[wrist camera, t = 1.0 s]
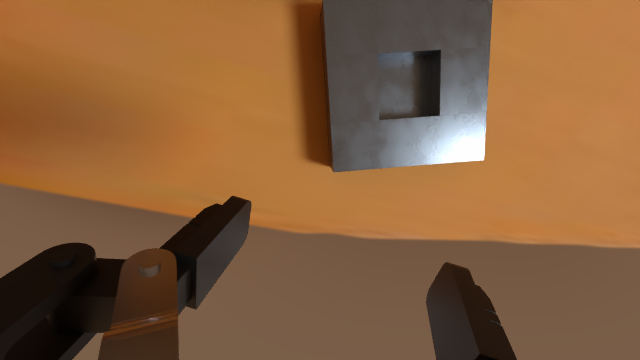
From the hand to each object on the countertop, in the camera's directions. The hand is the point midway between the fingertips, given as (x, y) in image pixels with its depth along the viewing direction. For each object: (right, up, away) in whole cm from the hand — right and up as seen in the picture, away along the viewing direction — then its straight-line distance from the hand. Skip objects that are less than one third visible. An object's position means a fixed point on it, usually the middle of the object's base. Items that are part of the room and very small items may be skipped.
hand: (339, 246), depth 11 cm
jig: (+9, +14, +23) cm, 28 cm away
